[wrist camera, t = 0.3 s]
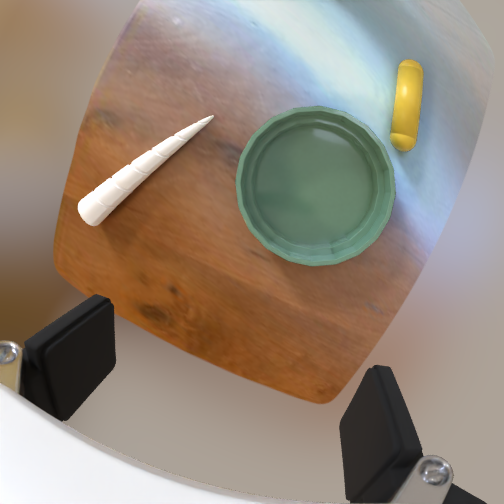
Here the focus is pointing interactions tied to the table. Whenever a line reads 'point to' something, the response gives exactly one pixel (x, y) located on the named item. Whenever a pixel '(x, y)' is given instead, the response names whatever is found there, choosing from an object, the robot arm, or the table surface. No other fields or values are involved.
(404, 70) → the yellow rounded capsule
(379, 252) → the table surface
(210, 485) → the robot arm
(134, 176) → the unicorn horn
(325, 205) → the green round dish
